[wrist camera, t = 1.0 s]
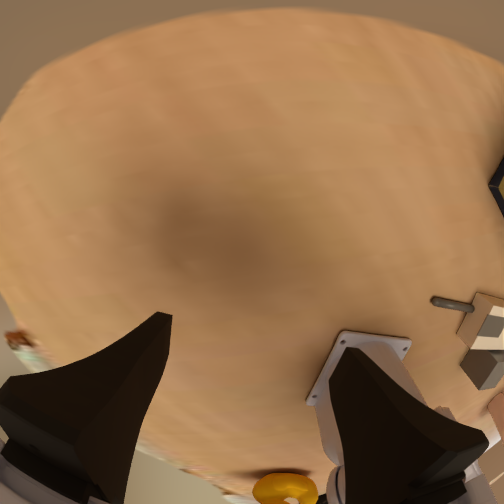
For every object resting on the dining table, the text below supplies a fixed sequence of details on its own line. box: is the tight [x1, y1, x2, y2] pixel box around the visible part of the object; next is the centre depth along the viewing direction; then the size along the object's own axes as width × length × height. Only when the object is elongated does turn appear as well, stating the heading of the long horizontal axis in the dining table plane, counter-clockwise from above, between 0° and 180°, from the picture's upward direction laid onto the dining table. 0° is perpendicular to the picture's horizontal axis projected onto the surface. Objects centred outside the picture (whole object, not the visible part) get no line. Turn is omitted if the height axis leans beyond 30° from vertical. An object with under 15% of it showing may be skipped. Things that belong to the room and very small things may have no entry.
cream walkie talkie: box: [432, 292, 504, 350], centre depth 21 cm, size 5×15×3 cm, turn 77°
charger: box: [460, 349, 504, 390], centre depth 22 cm, size 5×4×5 cm
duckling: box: [252, 473, 318, 504], centre depth 27 cm, size 11×5×10 cm, turn 84°
